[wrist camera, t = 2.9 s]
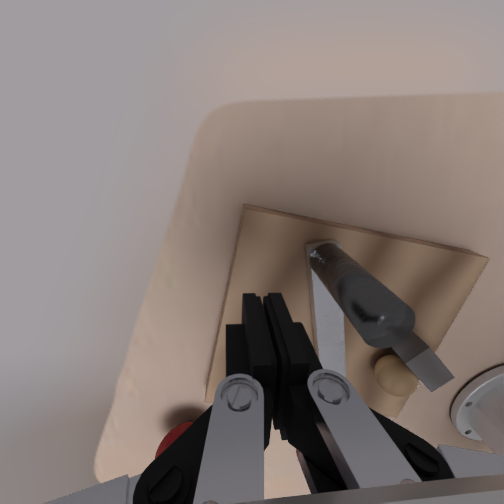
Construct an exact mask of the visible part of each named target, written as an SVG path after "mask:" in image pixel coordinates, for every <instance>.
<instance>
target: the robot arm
mask: <svg viewBox="0 0 504 504" xmlns="http://www.w3.org/2000/svg"><path fill="white" fill-rule="evenodd" d="M272 419H273V425H274V429H275V430H277V429H280V434H281V439H282V440H288V442H289V443H290V444H291V445H292V446H293V447H295V448H296V453H297V457H298V460H299V463H300V466H301V468H302V471H303V474H304V476H305V479H306V482H307V484H308V487H309V490H310V492H311V494H308V495H300V496H291V497H282V498H274V499H265V500H264V451H265V449H266V448H267V446H268V445H269V440H270V431H271V422H272ZM451 420H452V423H453V424H454V426H455V427H456V428H457V430H458V431H459V432H460V433H461V434H462V435H463V436H465V437H467V438H469V439H473V440H479V441H484V442H485V443H486V444H487V445H488V446H489V447H490V449H491V450H492V451H493V452H494V453H495V454H494V453H487V452H481V451H475V450H469V449H463V448H457V447H451V446H445V445H438V447H437V448H434V447H433V446H432V445H431V444H429V443H428V442H426V441H425V440H424V439H422V438H420V437H419V436H417V435H415V434H413V433H412V432H410V431H408V430H407V429H405V428H403V427H402V426H400V425H398V424H397V423H395V422H393V421H391V420H390V419H388V418H386V417H385V416H383V415H381V414H380V413H378V412H376V411H375V410H373V409H371V408H369V407H368V406H367V405H366V403H365V402H364V400H363V399H362V398H361V396H360V395H359V394H358V392H357V391H356V389H355V388H354V387H353V385H352V384H351V383H350V382H349V380H348V379H347V378H346V377H344V376H343V375H341V374H340V373H338V372H335V371H333V370H328V369H323V367H322V365H321V363H320V361H319V358H318V356H317V354H316V352H315V350H314V348H313V345H312V343H311V341H310V339H309V337H308V334H307V332H306V330H305V328H304V326H303V324H302V323H301V322H293V320H292V318H291V315H290V313H289V311H288V308H287V306H286V303H285V301H284V298H283V296H282V294H281V293H280V292H279V293H268V296H264V297H263V305H262V301H261V297H260V296H256V294H255V293H243V295H242V321H241V324H226V378H225V379H223V380H222V381H221V382H220V384H219V385H218V386H217V389H216V392H215V397H214V402H213V405H211V406H210V407H209V408H208V409H207V410H206V411H205V412H204V413H203V414H202V415H201V416H200V417H199V418H198V419H197V420H196V421H195V422H194V423H193V424H192V425H191V426H189V427H188V428H187V429H186V430H185V431H184V432H183V433H182V434H181V435H180V436H179V437H178V438H177V439H176V440H175V441H174V442H173V443H172V444H171V445H170V446H168V447H167V448H166V449H165V450H164V451H163V452H162V453H161V454H160V455H159V456H158V457H157V458H156V459H155V460H154V461H153V462H152V463H151V464H150V465H149V466H148V467H147V468H146V469H145V471H144V472H143V473H142V474H139V475H136V476H134V477H131V478H128V474H127V475H124V476H121V477H118V478H115V479H113V480H110V481H107V482H104V483H101V484H98V485H95V486H92V487H90V488H87V489H84V490H81V491H78V492H75V493H72V494H70V495H67V496H64V497H61V498H58V499H55V500H52V501H49V502H46V503H44V504H504V365H503V366H500V367H497V368H494V369H492V370H489V371H487V372H485V373H483V374H482V375H480V376H479V377H477V378H475V379H474V380H473V381H472V382H470V383H469V384H468V385H467V386H466V387H465V388H464V389H463V390H462V391H461V392H460V393H459V395H458V396H457V397H456V399H455V401H454V403H453V405H452V409H451Z"/></svg>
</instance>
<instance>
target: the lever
mask: <svg viewBox="0 0 504 504" xmlns="http://www.w3.org/2000/svg"><path fill="white" fill-rule="evenodd" d="M305 248H306V259H307V270H308V280H309V291H310V302H311V312H312V323H313V334H314V345H315V352H316V354H317V356H318V358H319V361H320V363H321V365H322V367H323V369H328V370H333V371H335V372H338V373H340V374H341V375H343V376H344V377H346V362H345V335H344V314H345V315H346V317H347V318H348V319H349V321H350V322H351V324H352V325H353V326H354V328H355V329H356V331H357V332H358V333H359V335H360V336H361V337H362V339H363V340H364V342H365V343H366V344H368V345H369V346H371V347H374V348H389V347H392V346H395V345H397V344H399V343H400V342H402V341H403V340H404V339H406V338H407V337H408V336H409V334H410V333H411V332H412V330H413V328H414V325H415V320H416V318H415V313H414V311H413V309H412V308H411V307H410V306H408V305H407V304H406V303H405V302H404V301H402V300H401V299H400V298H399V297H398V296H397V295H395V294H394V293H393V292H392V291H391V290H389V289H388V288H387V287H386V286H385V285H384V284H382V283H381V282H380V281H379V280H378V279H376V278H375V277H374V276H373V275H372V274H370V273H369V272H368V271H367V270H366V269H365V268H363V267H362V266H361V265H360V264H359V263H357V262H356V261H355V260H354V259H353V258H352V257H350V256H349V255H348V254H347V253H346V252H344V251H343V250H342V249H341V243H339V242H338V241H337V240H336V239H332V240H327V241H322V242H316V243H311V244H306V245H305Z"/></svg>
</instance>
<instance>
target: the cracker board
mask: <svg viewBox="0 0 504 504" xmlns="http://www.w3.org/2000/svg"><path fill="white" fill-rule="evenodd" d="M332 239H336V240H337V241H338V242H339V243H341V249H342V250H343V251H344V252H346V253H347V254H348V255H349V256H350V257H352V258H353V259H354V260H355V261H356V262H357V263H359V264H360V265H361V266H362V267H363V268H365V269H366V270H367V271H368V272H369V273H370V274H372V275H373V276H374V277H375V278H376V279H378V280H379V281H380V282H381V283H382V284H384V285H385V286H386V287H387V288H388V289H389V290H391V291H392V292H393V293H394V294H395V295H397V296H398V297H399V298H400V299H401V300H402V301H404V302H405V303H406V304H407V305H408V306H410V307H411V308H412V309H413V311H414V313H415V318H416V320H415V325H414V328H413V330H412V332H411V333H410V334H409V336H408V337H407V338H406V339H404V340H403V341H402V342H400V343H399V344H397V345H395V346H392V347H389V348H374V347H371V346H369V345H368V344H366V343H365V342H364V340H363V339H362V337H361V336H360V335H359V333H358V332H357V331H356V329H355V328H354V326H353V325H352V324H351V322H350V321H349V319H348V318H347V317H346V315H345V314H344V335H345V362H346V378H347V379H348V380H349V382H350V383H351V384H352V385H353V387H354V388H355V389H356V391H357V392H358V394H359V395H360V396H361V398H362V399H363V400H364V402H365V403H366V405H367V406H368V407H369V408H371V409H373V410H375V411H376V412H378V413H380V414H381V415H383V416H393V417H397V416H398V414H399V413H400V411H401V409H402V407H403V406H404V404H405V402H406V401H407V399H408V397H409V396H410V394H412V393H413V392H414V391H415V390H416V388H417V385H418V380H419V379H420V380H421V381H422V382H423V383H424V385H425V386H426V387H427V388H428V389H429V390H430V391H431V392H433V391H434V390H436V389H437V388H439V387H440V386H442V385H444V384H445V383H447V382H448V381H450V380H451V379H453V378H455V377H454V376H453V375H452V374H451V372H450V371H449V370H448V369H447V368H446V366H445V365H444V364H443V363H442V362H441V360H440V359H439V358H438V357H437V355H436V354H435V351H436V350H437V348H438V346H439V344H440V343H441V341H442V339H443V338H444V336H445V334H446V333H447V331H448V329H449V327H450V326H451V324H452V322H453V321H454V319H455V317H456V316H457V314H458V312H459V310H460V309H461V307H462V305H463V304H464V302H465V300H466V299H467V297H468V295H469V293H470V292H471V290H472V288H473V287H474V285H475V283H476V282H477V280H478V278H479V276H480V275H481V273H482V271H483V270H484V268H485V266H486V265H487V263H488V261H489V259H490V258H488V257H485V256H483V255H480V254H478V253H475V252H473V251H470V250H465V249H461V248H456V247H451V246H446V245H441V244H436V243H431V242H426V241H421V240H417V239H412V238H407V237H402V236H397V235H392V234H387V233H382V232H378V231H373V230H368V229H363V228H358V227H353V226H348V225H343V224H339V223H334V222H329V221H324V220H319V219H314V218H309V217H304V216H300V215H295V214H290V213H285V212H280V211H275V210H270V209H265V208H260V207H256V206H251V205H246V204H244V207H243V212H242V217H241V222H240V226H239V231H238V236H237V241H236V245H235V250H234V255H233V260H232V265H231V269H230V274H229V279H228V284H227V289H226V293H225V298H224V303H223V308H222V313H221V317H220V322H219V327H218V332H217V337H216V341H215V346H214V351H213V356H212V360H211V365H210V370H209V375H208V380H207V384H206V394H205V402H211V403H213V402H214V397H215V392H216V389H217V386H218V385H219V384H220V382H221V381H222V380H223V379H225V378H226V324H241V321H242V295H243V293H255V294H256V296H260V297H261V301H262V305H263V297H264V296H268V293H279V292H280V293H281V294H282V296H283V298H284V301H285V303H286V306H287V308H288V311H289V313H290V315H291V318H292V320H293V322H301V323H302V324H303V326H304V328H305V330H306V332H307V334H308V337H309V339H310V341H311V343H312V345H313V348H314V350H315V345H314V334H313V323H312V312H311V302H310V291H309V280H308V270H307V259H306V248H305V245H306V244H311V243H316V242H322V241H327V240H332Z"/></svg>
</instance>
